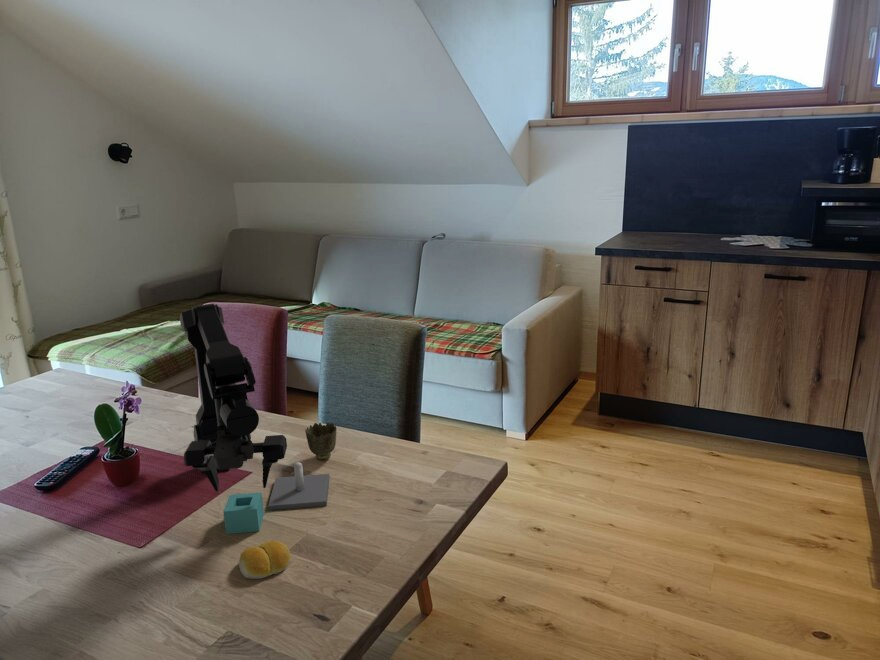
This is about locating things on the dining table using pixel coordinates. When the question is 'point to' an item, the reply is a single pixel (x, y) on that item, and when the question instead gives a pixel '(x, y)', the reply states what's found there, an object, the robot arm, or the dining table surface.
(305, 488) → the post stand
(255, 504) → the teal block with hole
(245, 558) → the bread roll
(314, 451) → the cup
